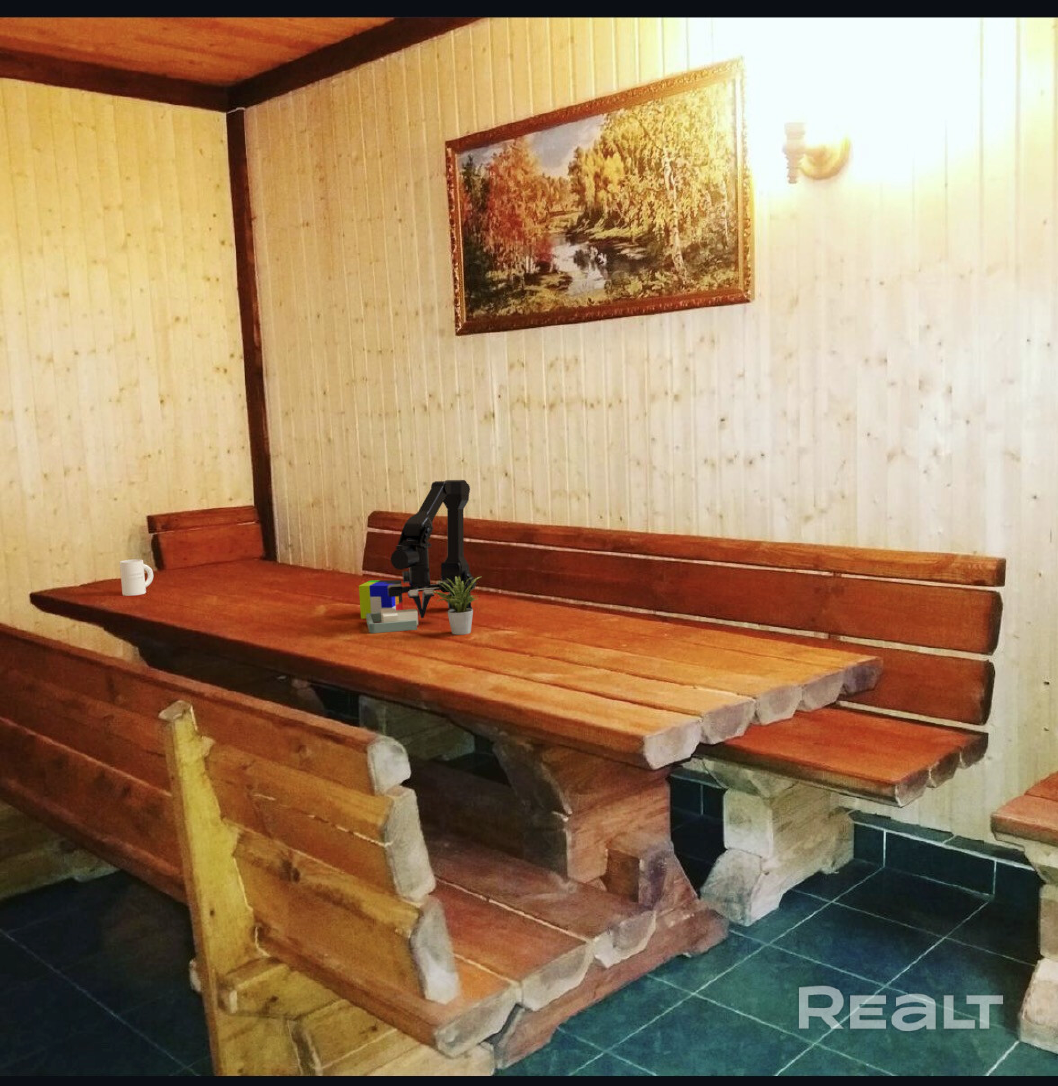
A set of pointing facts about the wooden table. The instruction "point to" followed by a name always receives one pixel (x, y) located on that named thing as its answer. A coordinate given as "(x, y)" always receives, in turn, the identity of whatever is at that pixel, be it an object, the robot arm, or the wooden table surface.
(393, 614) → the t block
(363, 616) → the puzzle toy
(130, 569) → the mug
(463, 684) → the wooden table surface
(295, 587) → the wooden table surface
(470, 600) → the house plant
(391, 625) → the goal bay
